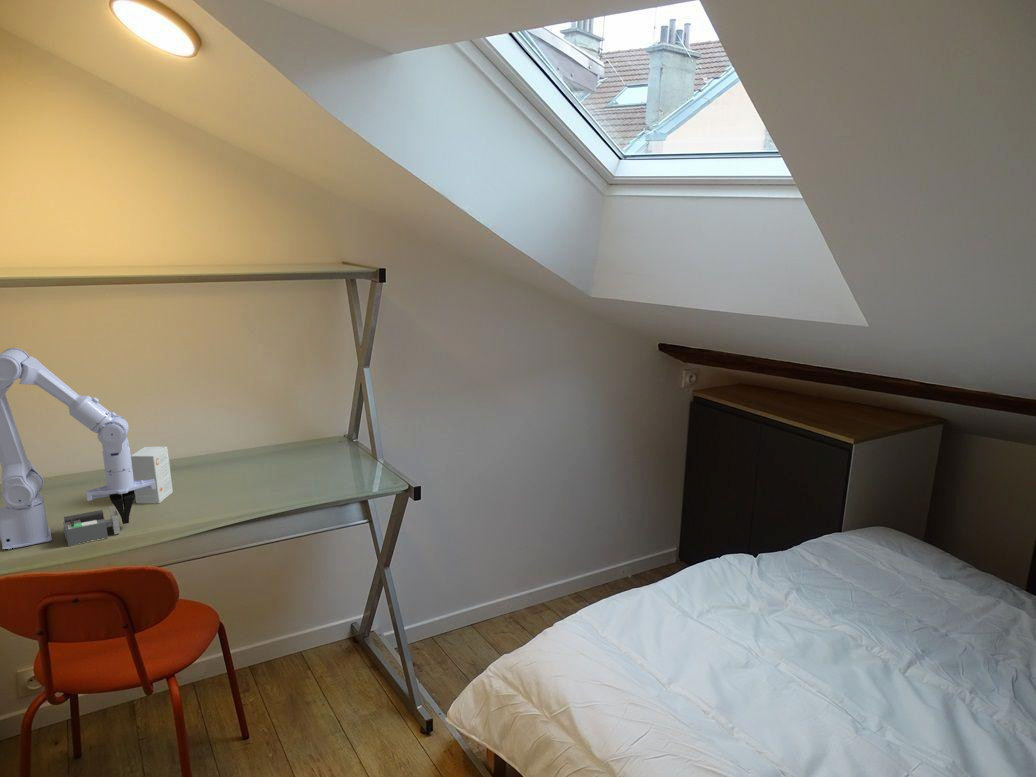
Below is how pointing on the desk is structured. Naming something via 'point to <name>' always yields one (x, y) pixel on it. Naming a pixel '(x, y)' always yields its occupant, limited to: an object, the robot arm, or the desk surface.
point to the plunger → (111, 522)
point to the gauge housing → (86, 527)
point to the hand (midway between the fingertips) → (125, 522)
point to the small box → (152, 473)
